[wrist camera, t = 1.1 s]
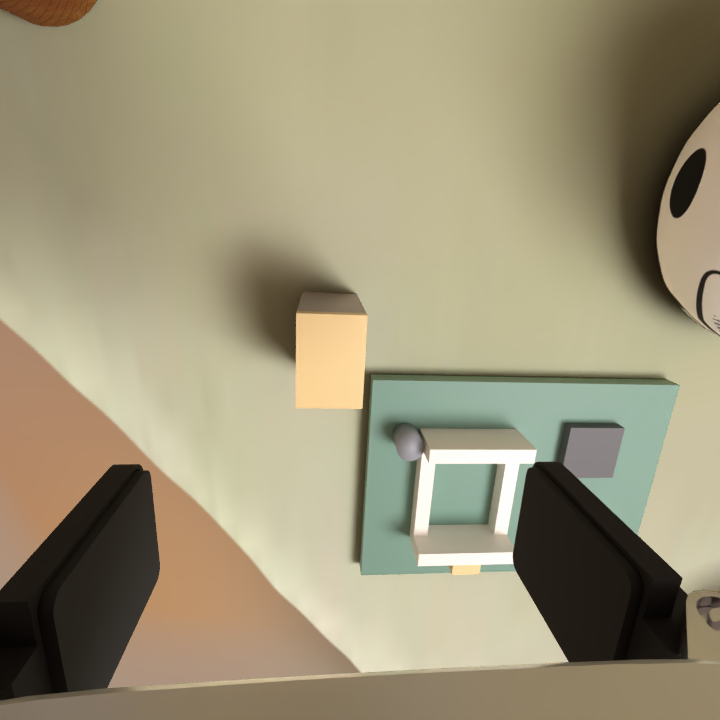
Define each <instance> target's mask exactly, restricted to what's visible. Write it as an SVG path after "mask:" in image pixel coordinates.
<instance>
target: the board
mask: <svg viewBox="0 0 720 720" xmlns="http://www.w3.org/2000/svg"><path fill="white" fill-rule="evenodd" d="M679 386H680V385H678V384H676V383H673V382H671V381H669V380H663V379H608V378H553V377H497V376H442V375H387V374H371V382H370V399H369V416H368V433H367V450H366V467H365V484H364V501H363V518H362V535H361V552H360V570H361V575H386V574H424V573H451V574H452V575H460V574H480V572H501V571H516V570H515V567H514V564H513V549H514V543H515V537H516V531H517V525H518V520H519V514H520V508H521V502H522V496H523V490H524V484H525V478H526V473H527V470H528V468H530V467H533V465H534V463H536V462H560V463H562V464H563V465H564V466H565V467H566V468H567V469H568V470H569V471H570V472H571V473H572V474H573V475H575V476H576V477H577V478H578V479H579V480H580V481H581V482H582V483H583V484H584V485H585V486H586V487H587V488H588V489H589V490H590V491H591V492H592V493H593V494H595V495H596V496H597V497H598V498H599V499H600V500H601V501H602V502H603V503H604V504H605V505H606V506H607V507H608V508H609V509H610V510H611V511H612V512H613V513H614V514H616V515H617V516H618V517H619V518H620V519H621V520H622V521H623V522H624V523H625V524H626V525H627V526H628V527H629V528H630V529H631V530H632V531H633V532H634V533H636V534H637V535H638V531H639V528H640V524H641V520H642V517H643V513H644V510H645V506H646V503H647V499H648V496H649V492H650V489H651V485H652V482H653V478H654V474H655V471H656V467H657V464H658V460H659V457H660V453H661V450H662V446H663V443H664V439H665V436H666V432H667V429H668V425H669V421H670V418H671V414H672V411H673V407H674V404H675V400H676V397H677V393H678V390H679Z"/></svg>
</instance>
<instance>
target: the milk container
mask: <svg viewBox="0 0 720 720" xmlns="http://www.w3.org/2000/svg"><path fill="white" fill-rule="evenodd" d="M655 241H656V251H657V256H658V261H659V266H660V271H661V274H662V278H663V281H664V283H665V285H666V286H667V288H668V290H669V291H670V293H671V294H672V296H673V298H674V299H675V301H676V302H677V304H678V305H679V306H680V308H681V309H682V310H683V311H684V312H685V313H686V314H687V315H688V316H689V317H690V318H691V319H692V320H693V321H695V322H696V323H697V324H699V325H700V326H702V327H703V328H705V329H707V330H709V331H710V332H712V333H714V334H716V335H718V336H720V103H719V104H718V105H717V106H716V107H715V108H714V109H713V110H712V111H711V112H710V113H709V114H708V115H707V117H706V118H705V119H704V120H703V121H702V123H701V124H700V125H699V126H698V127H697V129H696V130H695V131H694V132H693V133H692V135H691V136H690V137H689V139H688V140H687V141H686V143H685V144H684V146H683V148H682V150H681V151H680V153H679V155H678V157H677V159H676V161H675V163H674V166H673V168H672V170H671V172H670V174H669V176H668V179H667V181H666V184H665V186H664V189H663V192H662V195H661V200H660V204H659V211H658V218H657V225H656V237H655Z"/></svg>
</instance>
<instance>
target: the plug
mask: <svg viewBox="0 0 720 720" xmlns="http://www.w3.org/2000/svg"><path fill="white" fill-rule="evenodd" d="M366 334H367V314H366V312H365V310H364V308H363V306H362V304H361V302H360V300H359V298H358V296H357V294H349V293H321V292H302V295H301V298H300V302H299V305H298V309H297V312H296V408H350V409H362V408H363V389H364V371H365V353H366Z"/></svg>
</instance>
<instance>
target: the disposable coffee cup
mask: <svg viewBox="0 0 720 720" xmlns="http://www.w3.org/2000/svg"><path fill="white" fill-rule="evenodd" d="M96 1H97V0H0V8H2V9H4V10H6V11H8V12H10V13H12V14H14V15H16V16H18V17H20V18H22V19H24V20H27V21H29V22H31V23H34V24H37V25H40V26H57V27H58V26H64V25H68V24H71V23H73V22H75V21H77V20H79V19H80V18H82V17H83V16H84V15H85V14H86V13H87V12H89V11H90V9H91V8H92V7H93V6H94V4H95V3H96Z"/></svg>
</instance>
